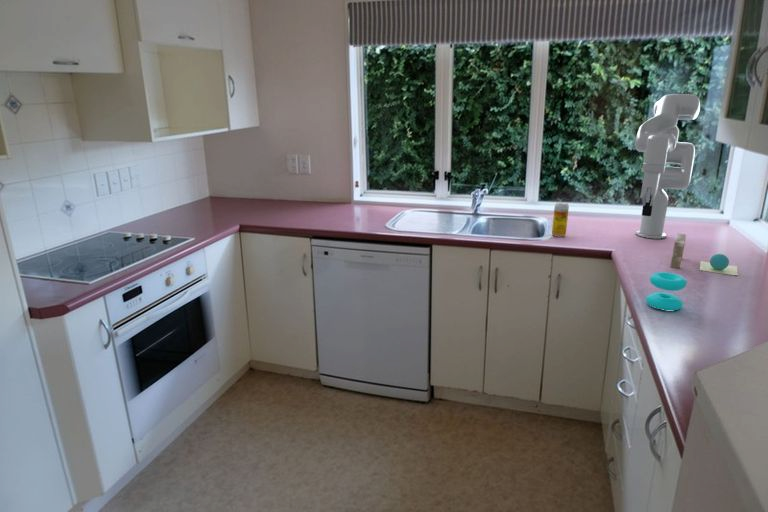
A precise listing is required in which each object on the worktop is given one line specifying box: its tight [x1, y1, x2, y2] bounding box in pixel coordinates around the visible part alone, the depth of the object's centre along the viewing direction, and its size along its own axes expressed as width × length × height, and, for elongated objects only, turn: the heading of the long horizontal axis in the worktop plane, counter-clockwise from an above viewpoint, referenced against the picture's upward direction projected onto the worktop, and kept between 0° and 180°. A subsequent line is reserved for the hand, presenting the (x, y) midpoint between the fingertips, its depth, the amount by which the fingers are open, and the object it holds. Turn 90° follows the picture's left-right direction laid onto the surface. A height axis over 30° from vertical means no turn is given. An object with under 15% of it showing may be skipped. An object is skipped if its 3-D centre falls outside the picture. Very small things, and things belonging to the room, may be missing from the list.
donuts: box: [645, 271, 688, 311], centre depth 163 cm, size 10×10×10 cm
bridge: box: [670, 233, 687, 269], centre depth 205 cm, size 3×15×10 cm, turn 149°
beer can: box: [551, 201, 570, 238], centre depth 241 cm, size 6×6×15 cm
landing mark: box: [699, 261, 739, 277], centre depth 199 cm, size 12×12×1 cm
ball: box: [709, 253, 730, 270], centre depth 197 cm, size 6×6×6 cm
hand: (646, 215), depth 207 cm, fingers closed
